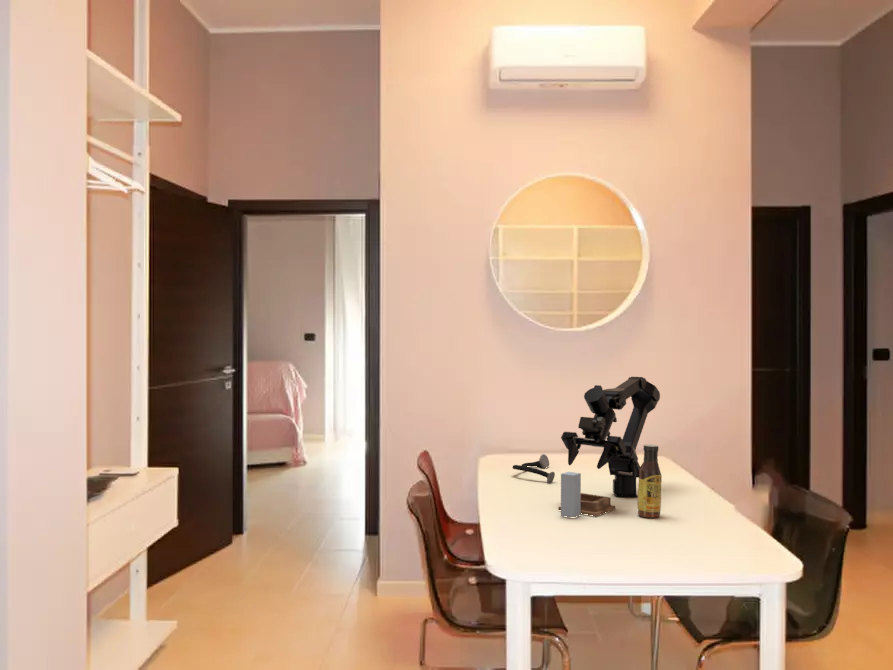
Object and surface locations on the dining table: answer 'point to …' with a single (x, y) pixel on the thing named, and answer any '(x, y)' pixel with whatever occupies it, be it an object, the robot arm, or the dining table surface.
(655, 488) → the sauce bottle
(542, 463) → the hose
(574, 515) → the grey square post
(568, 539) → the dining table surface
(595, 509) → the post socket
